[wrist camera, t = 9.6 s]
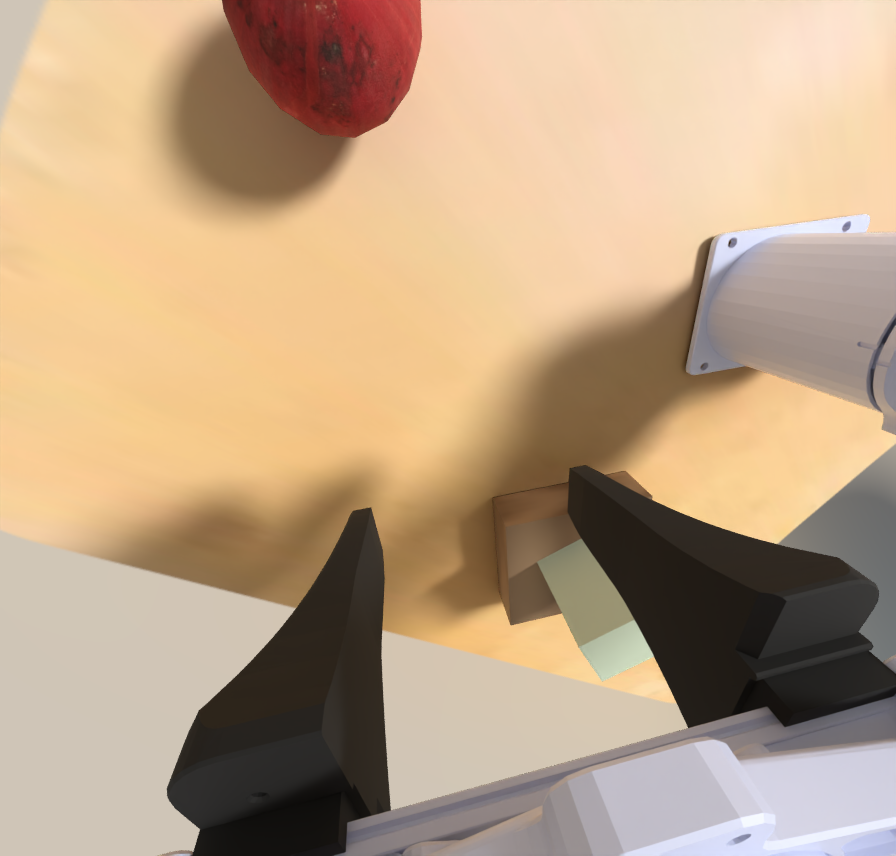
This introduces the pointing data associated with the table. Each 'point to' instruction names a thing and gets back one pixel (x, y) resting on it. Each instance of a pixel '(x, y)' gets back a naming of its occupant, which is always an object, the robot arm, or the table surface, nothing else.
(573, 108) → the table surface
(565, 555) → the sage block
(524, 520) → the walnut base
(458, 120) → the table surface
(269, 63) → the onion
